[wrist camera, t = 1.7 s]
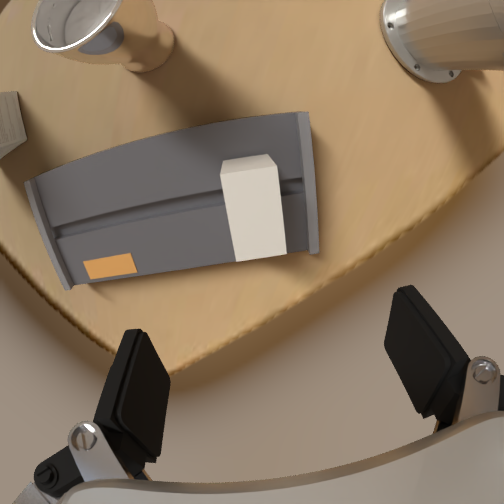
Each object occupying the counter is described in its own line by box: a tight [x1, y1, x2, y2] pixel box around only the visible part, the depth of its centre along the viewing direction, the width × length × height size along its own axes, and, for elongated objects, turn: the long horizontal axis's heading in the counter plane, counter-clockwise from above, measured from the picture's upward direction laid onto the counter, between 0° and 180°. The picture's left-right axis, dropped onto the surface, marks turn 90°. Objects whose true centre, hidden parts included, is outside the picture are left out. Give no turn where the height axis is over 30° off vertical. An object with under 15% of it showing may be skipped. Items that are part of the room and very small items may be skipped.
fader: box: [220, 154, 287, 262], centre depth 24 cm, size 4×7×7 cm, turn 8°
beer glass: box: [31, 0, 174, 72], centre depth 15 cm, size 7×7×15 cm
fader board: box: [24, 112, 319, 290], centre depth 28 cm, size 30×14×4 cm, turn 98°
